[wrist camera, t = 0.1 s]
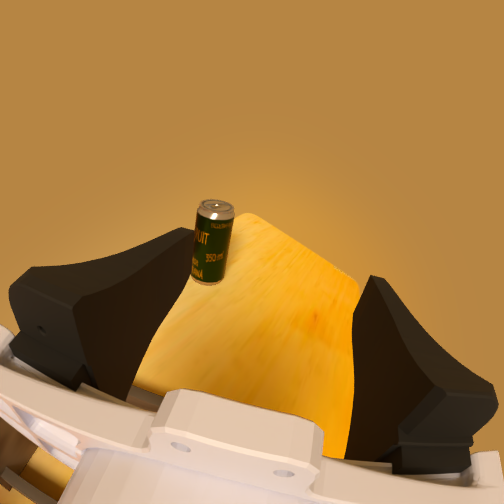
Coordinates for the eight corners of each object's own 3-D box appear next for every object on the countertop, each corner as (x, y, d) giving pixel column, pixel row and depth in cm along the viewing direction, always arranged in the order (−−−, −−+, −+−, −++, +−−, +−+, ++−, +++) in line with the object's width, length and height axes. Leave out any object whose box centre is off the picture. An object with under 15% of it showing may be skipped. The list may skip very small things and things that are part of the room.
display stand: (121, 556, 14) (95, 541, 10) (-1, 483, 15) (-50, 434, 11) (182, 412, 29) (186, 352, 24) (79, 370, 29) (64, 306, 25)
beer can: (210, 265, 54) (221, 197, 49) (230, 281, 51) (243, 210, 45) (183, 272, 51) (190, 200, 45) (201, 290, 47) (212, 215, 42)
